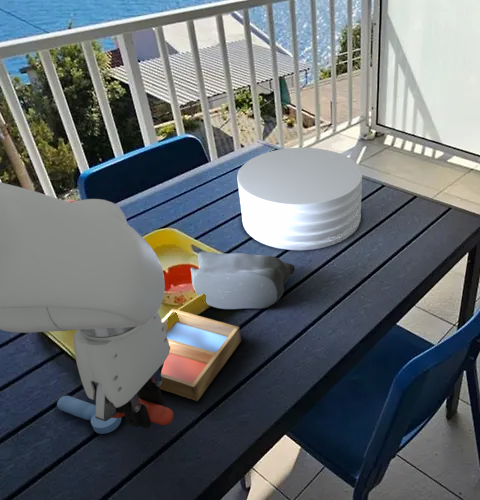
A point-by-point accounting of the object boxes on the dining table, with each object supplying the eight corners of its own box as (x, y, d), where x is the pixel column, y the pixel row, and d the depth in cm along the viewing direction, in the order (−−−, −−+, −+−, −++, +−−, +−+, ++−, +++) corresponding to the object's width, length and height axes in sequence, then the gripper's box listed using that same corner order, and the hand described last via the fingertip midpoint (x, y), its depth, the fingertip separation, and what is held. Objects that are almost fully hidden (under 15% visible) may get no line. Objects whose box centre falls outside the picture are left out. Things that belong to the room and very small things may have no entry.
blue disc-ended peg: (127, 415, 73) (123, 406, 72) (109, 437, 70) (104, 427, 69) (71, 396, 76) (67, 386, 74) (52, 416, 73) (46, 406, 72)
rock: (296, 273, 101) (294, 241, 97) (289, 311, 92) (287, 278, 87) (206, 271, 101) (200, 239, 97) (190, 308, 92) (183, 275, 88)
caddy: (197, 401, 75) (194, 387, 74) (125, 377, 79) (120, 363, 77) (241, 340, 86) (239, 326, 84) (176, 322, 89) (172, 308, 87)
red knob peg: (98, 413, 66) (94, 402, 64) (118, 392, 69) (114, 381, 67) (164, 436, 63) (160, 425, 62) (182, 412, 66) (179, 401, 65)
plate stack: (378, 237, 112) (381, 193, 106) (254, 260, 104) (249, 213, 98) (339, 182, 134) (339, 141, 127) (234, 197, 126) (228, 155, 119)
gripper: (132, 262, 62) (161, 365, 73) (25, 348, 50) (78, 458, 60) (184, 274, 60) (206, 378, 71) (85, 368, 48) (129, 478, 58)
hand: (147, 414), depth 65 cm, fingers closed on red knob peg, 2 cm apart
